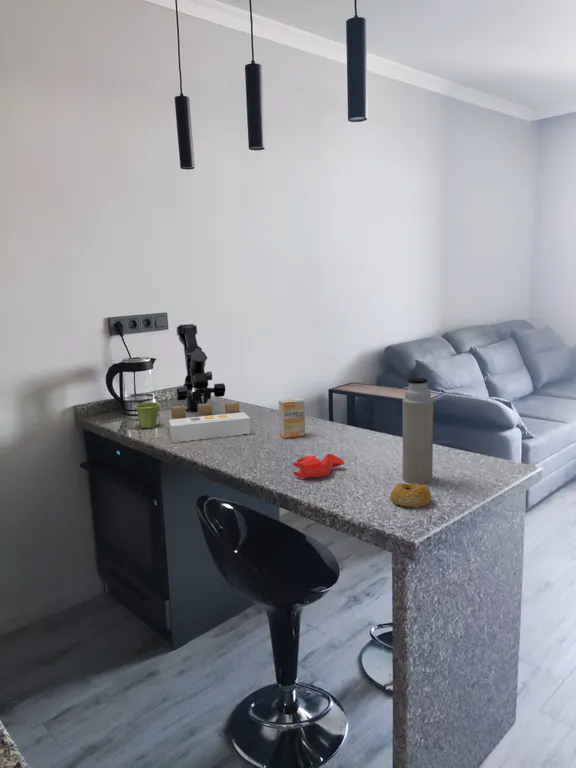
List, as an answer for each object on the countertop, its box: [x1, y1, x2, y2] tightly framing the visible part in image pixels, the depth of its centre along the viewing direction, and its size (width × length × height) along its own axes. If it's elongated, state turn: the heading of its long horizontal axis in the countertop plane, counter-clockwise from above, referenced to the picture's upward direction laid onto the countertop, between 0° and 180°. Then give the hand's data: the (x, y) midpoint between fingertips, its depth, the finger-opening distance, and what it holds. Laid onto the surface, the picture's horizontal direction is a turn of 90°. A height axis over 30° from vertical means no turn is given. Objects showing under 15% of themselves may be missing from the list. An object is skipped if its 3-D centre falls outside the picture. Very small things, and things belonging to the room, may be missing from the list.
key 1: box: [170, 405, 187, 420], centre depth 216 cm, size 2×5×8 cm, turn 107°
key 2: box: [224, 401, 240, 414], centre depth 219 cm, size 2×5×8 cm, turn 107°
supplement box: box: [278, 397, 306, 439], centre depth 204 cm, size 8×5×13 cm, turn 109°
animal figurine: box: [292, 453, 346, 479], centre depth 166 cm, size 12×15×5 cm
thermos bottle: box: [402, 377, 434, 485], centre depth 155 cm, size 8×8×28 cm
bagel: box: [390, 483, 432, 508], centre depth 143 cm, size 10×11×5 cm
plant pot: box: [134, 401, 161, 429], centre depth 224 cm, size 9×9×9 cm
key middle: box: [197, 402, 213, 417], centre depth 218 cm, size 2×5×8 cm, turn 107°
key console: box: [167, 411, 252, 444], centre depth 213 cm, size 18×28×6 cm, turn 107°
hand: (204, 409), depth 221 cm, fingers closed
